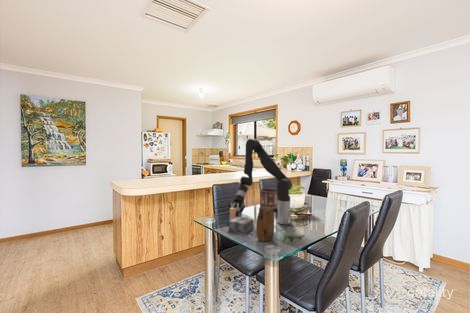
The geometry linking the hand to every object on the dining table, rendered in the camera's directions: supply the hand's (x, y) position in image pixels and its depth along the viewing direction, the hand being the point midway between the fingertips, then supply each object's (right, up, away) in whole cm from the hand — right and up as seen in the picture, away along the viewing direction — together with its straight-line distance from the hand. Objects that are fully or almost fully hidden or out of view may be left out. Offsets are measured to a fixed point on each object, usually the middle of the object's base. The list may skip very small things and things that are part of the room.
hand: (232, 215), depth 173 cm
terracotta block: (+1, -5, +2) cm, 5 cm away
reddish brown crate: (+33, -4, +38) cm, 50 cm away
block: (+20, -7, -32) cm, 39 cm away
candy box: (+61, -5, +26) cm, 66 cm away
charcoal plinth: (+6, -5, -14) cm, 16 cm away
